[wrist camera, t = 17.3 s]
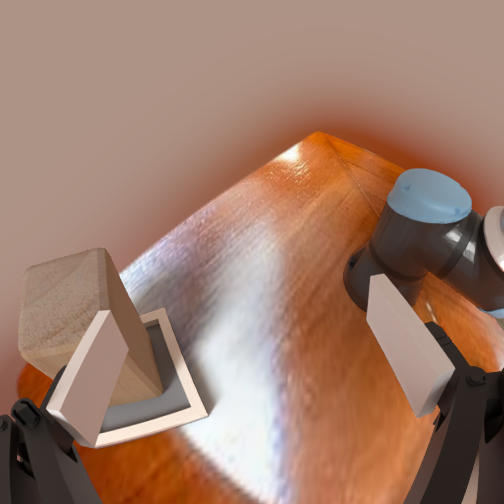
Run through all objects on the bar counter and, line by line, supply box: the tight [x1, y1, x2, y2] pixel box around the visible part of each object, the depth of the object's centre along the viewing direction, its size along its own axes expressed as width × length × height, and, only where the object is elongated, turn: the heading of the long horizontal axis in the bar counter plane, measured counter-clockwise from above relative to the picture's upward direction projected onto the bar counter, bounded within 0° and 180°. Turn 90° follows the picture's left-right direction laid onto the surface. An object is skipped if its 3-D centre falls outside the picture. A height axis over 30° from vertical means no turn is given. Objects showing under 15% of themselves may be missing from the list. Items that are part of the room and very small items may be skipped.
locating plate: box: [95, 307, 209, 449], centre depth 35 cm, size 17×17×3 cm
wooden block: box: [18, 248, 163, 407], centre depth 28 cm, size 10×10×20 cm
